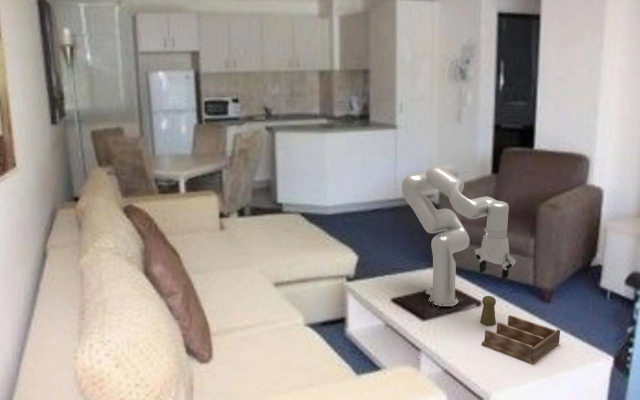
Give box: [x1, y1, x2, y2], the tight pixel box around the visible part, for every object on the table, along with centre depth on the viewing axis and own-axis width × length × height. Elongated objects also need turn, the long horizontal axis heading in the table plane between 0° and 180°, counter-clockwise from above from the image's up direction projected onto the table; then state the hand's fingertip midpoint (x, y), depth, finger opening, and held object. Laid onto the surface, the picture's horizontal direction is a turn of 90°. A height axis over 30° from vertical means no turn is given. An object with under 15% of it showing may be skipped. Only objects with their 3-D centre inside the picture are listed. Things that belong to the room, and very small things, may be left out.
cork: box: [479, 295, 497, 327], centre depth 227 cm, size 6×6×11 cm
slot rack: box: [481, 315, 561, 365], centre depth 210 cm, size 20×20×6 cm
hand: (493, 275), depth 223 cm, fingers open, 9 cm apart
